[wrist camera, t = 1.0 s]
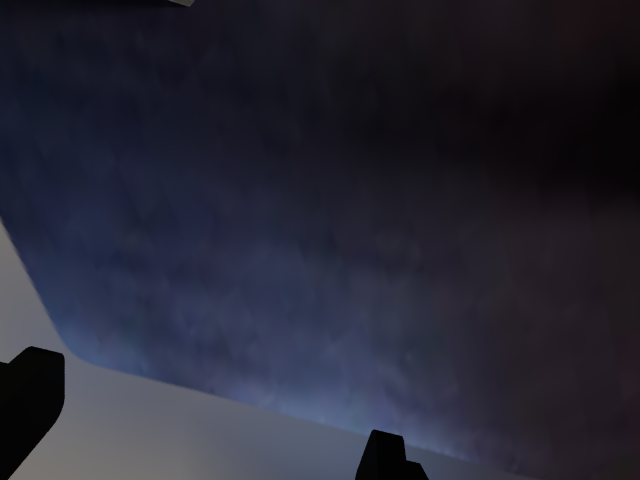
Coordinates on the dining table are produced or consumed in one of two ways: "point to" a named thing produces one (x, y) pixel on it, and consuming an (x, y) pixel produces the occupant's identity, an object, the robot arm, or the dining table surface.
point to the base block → (183, 2)
